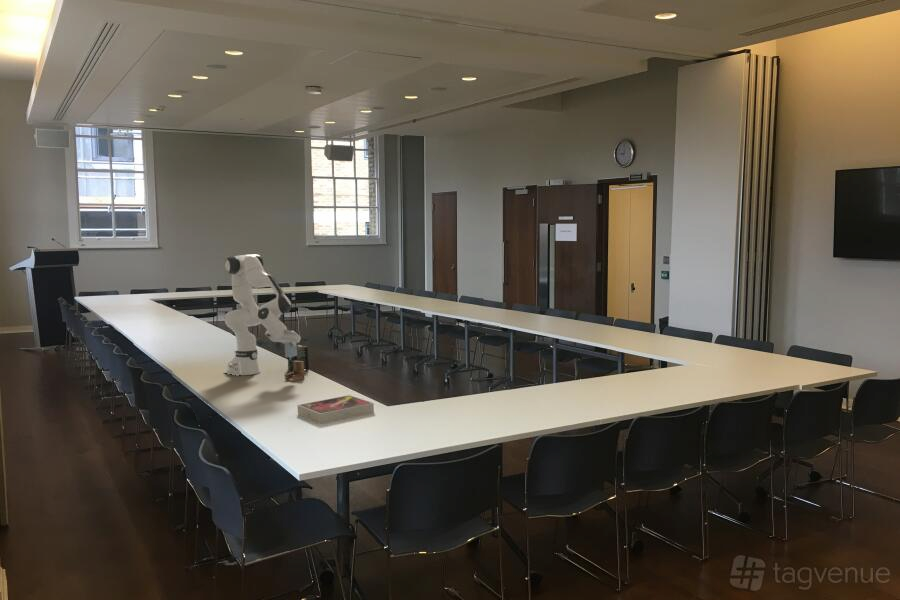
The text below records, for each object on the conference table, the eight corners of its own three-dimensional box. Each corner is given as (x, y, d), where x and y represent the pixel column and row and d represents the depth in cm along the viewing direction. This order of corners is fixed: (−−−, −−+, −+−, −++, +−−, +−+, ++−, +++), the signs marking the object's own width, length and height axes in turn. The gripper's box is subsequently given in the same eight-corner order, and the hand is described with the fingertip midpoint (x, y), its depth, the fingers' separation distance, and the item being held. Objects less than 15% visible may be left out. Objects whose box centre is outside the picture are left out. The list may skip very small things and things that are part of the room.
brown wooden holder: (285, 380, 408) (284, 363, 407) (295, 377, 416) (294, 360, 415) (293, 381, 405) (293, 364, 404) (304, 378, 413) (303, 361, 412)
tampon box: (309, 370, 436) (308, 346, 435) (294, 372, 431) (293, 348, 429) (302, 367, 445) (301, 344, 444) (287, 369, 440) (286, 345, 438)
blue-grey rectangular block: (285, 357, 406) (284, 336, 405) (292, 355, 411) (291, 334, 410) (290, 357, 404) (288, 336, 403) (297, 355, 410) (296, 334, 408)
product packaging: (297, 415, 336) (297, 405, 335) (349, 404, 353) (349, 395, 352) (320, 425, 319) (320, 414, 318) (373, 413, 336) (373, 403, 336)
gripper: (295, 326, 395) (307, 341, 404) (267, 325, 405) (280, 339, 414) (290, 335, 392) (303, 350, 401) (262, 334, 402) (275, 348, 411)
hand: (291, 345), depth 408 cm, fingers closed on blue-grey rectangular block, 3 cm apart
